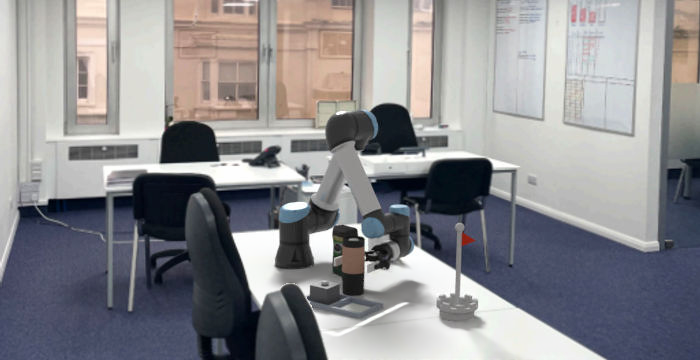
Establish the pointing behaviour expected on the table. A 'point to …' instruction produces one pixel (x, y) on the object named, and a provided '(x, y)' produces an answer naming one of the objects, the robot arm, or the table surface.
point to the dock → (349, 306)
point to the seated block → (325, 292)
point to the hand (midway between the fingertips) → (350, 265)
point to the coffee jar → (340, 243)
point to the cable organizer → (377, 241)
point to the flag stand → (458, 289)
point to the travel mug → (353, 265)
